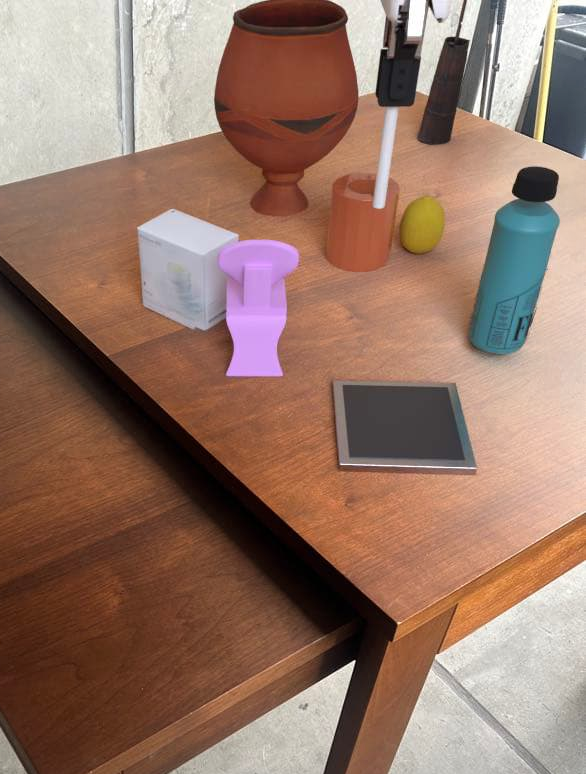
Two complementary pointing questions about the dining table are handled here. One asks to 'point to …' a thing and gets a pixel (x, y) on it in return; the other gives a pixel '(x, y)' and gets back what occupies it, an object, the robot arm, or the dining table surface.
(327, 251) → the pen cup
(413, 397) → the tablet
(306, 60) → the goblet
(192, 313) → the cosmetics box
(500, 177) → the dining table surface
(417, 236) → the lemon
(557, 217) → the beverage bottle
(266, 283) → the toy chair
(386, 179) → the stylus
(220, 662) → the dining table surface
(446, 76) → the butter churn
